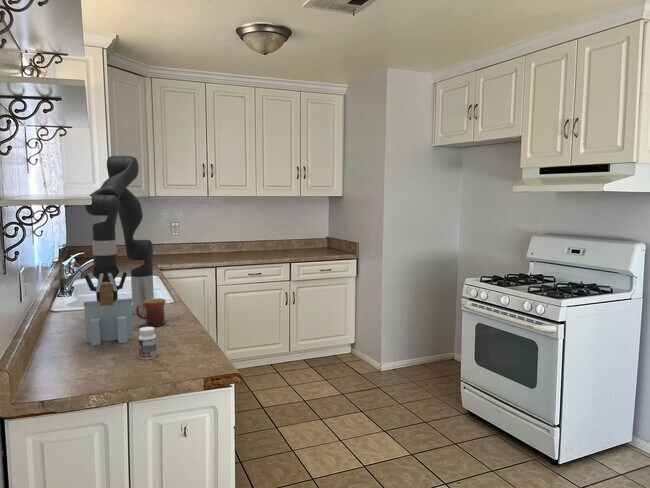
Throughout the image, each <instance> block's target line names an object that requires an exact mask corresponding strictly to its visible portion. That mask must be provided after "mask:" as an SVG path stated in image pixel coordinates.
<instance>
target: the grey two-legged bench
mask: <svg viewBox="0 0 650 488" xmlns="http://www.w3.org/2000/svg"><path fill="white" fill-rule="evenodd" d="M83 307H84V322H85V324H84V325H85V327H84V328H85V341H86V344H90V345H91V347H93V346H101V345H102V342H110V341H117V343H118V344H122V343H124V344H125V343H128V340H132V339H134V329H133V328H134V327H133V326H134V325H133V310H132V297H130V298H128V297H127V298H118V299H117V300H116V302H114V304H113V305H107V306H100V303H99V301H97V300H87V301H85V300H84V301H83Z"/></svg>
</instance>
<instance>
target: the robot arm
mask: <svg viewBox="0 0 650 488" xmlns="http://www.w3.org/2000/svg"><path fill="white" fill-rule="evenodd" d="M139 167H140V166H139V162H138V158H136V157H134V156H131V155H130V156H129V155H111V156H109V157H108V158H107V160H106V170H107V174H108V178H107V179H105V181H104V182H103V183H102V184H101V186H100V188H98V189H96V190H95V191H93V192H92V193H90V194H89V195H88V196H91V197H92V204H91V205H85V204H84V207H85V211H86V212H87V213H88V214H89V215H91V216H96V217H97V216H102V217H103V216H107V217H106V219H105V220H104V221H102V222H96V223H94V224H92V225H93V226H92V256H93V258H92V259H93V260H92V261H93V270H92V272H89V273H85V275H84V279H85V282H86V283H87V285H88V288H89V291H90V292H91V291H92V292H95V296H96V301H99V303H100V287H101V284H102V283H104V282H111V285H112V286H113V301H114V302H116V300H117V299H119V297H118V296H119V294H118V291H119V290H121V289H123V287H124V284H125V281H126V278H127V275H128V272H127V271H121V270H120V269H119V267H118V249H117V241H116V223H117V218H118V217H119V220H120V224H121V227H122V232H123V238H124V247H125V252H126V256H127V260H130V261H143V263H142V264H141V265H139V266H136V267H134V268H132V269H131V270H130V279H131V280H130V283H131V298H132V315H136V316H138V315H137V313H136V307H137V306H138V305H140V304H144V303H143V301H145V300H148V299H155V298H154V297H155V295H154V293H155V292H154V275H153V274H154V273H153V271H154V270H153V269H154V268H153V265H154V264H153V263H154V262H153V259H154V258H153V256H154V255H153V254H154V252H153V251H154V250H153V249H154V247H153V242H152V240H151V239H134V235H135V232H136V231H137V229H138V228H139V226H140V225H141V223H142V220H143V218H144V215H143V210H142V205H141V202H140V200H139V199H138V198H137V196H135V195H134V194H133V192H131V191H130V190H129V189H128V188H127V187H128V186H130V184H132V183H133V182H134V181H135V180H136V178H137V177H138V175H139V172H140V170H139V169H140V168H139ZM118 275H119V278H121V279H120V281H119V285H117V283H116V278H117V277H118ZM93 276H94V278H95V279H96V280H97V284H96V286H94V283H93V281H92V279H93ZM139 314H140V315H141V316H145V315H146V309H145V307H143V306H141V307H139Z"/></svg>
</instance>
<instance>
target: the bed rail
mask: <svg viewBox="0 0 650 488" xmlns="http://www.w3.org/2000/svg"><path fill="white" fill-rule="evenodd" d="M113 304H114V301H113V286H112V285H111V282H104V283H102V284H101V287H100V306H107V305H113Z"/></svg>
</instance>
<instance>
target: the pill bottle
mask: <svg viewBox="0 0 650 488" xmlns="http://www.w3.org/2000/svg"><path fill="white" fill-rule="evenodd" d="M139 334H140V335H139V336H138V356H139V359H141V360H144V361H145V360H146V361H147V360H152V359H155V358H156V357H157V355H158V348H157V335H156V334H155V327H150V326H143V327H141V328H139Z"/></svg>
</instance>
